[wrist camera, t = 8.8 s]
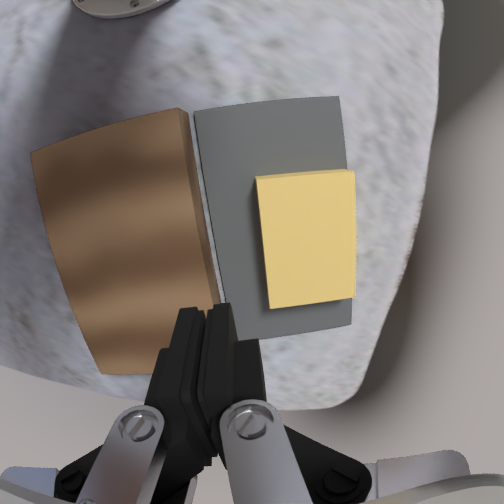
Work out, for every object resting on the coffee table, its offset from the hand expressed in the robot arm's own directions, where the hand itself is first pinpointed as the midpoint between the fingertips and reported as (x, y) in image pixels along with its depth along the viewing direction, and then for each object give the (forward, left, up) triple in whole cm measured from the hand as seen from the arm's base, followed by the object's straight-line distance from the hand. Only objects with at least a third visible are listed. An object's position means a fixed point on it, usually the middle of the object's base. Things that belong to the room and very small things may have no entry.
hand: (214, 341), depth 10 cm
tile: (+2, +6, -13) cm, 14 cm away
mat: (+1, +4, -15) cm, 16 cm away
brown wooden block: (+1, -8, -15) cm, 17 cm away
